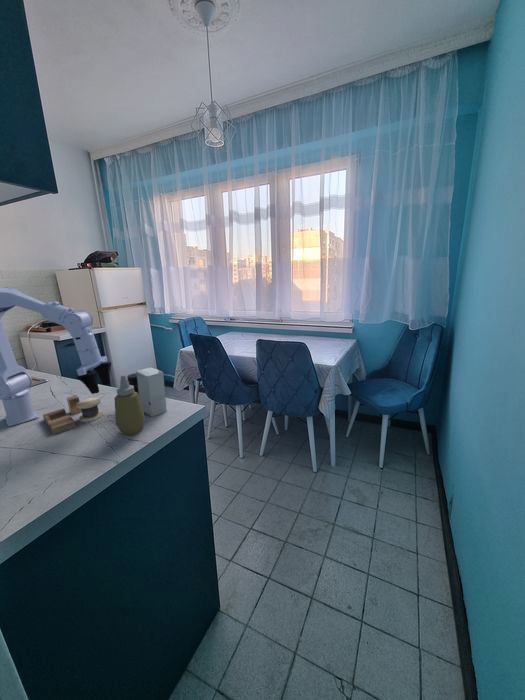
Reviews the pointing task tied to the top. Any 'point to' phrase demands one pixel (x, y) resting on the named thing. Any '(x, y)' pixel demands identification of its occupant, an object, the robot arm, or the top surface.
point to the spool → (89, 409)
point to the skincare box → (151, 391)
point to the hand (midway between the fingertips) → (101, 388)
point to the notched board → (59, 421)
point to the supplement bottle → (133, 381)
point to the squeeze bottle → (128, 409)
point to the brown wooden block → (73, 404)
